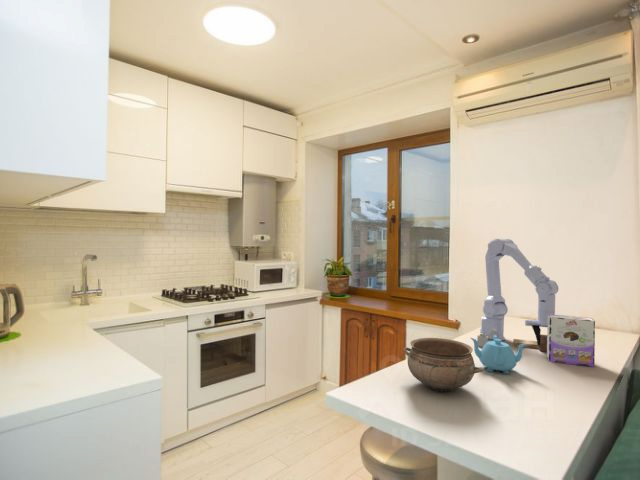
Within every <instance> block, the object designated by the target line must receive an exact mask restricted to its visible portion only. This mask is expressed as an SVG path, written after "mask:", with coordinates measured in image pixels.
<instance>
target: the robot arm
mask: <svg viewBox="0 0 640 480" xmlns="http://www.w3.org/2000/svg"><path fill="white" fill-rule="evenodd" d="M504 256H507V257H511V258H512V259H513V260H514V261H515V263H517V264H518V265H519V266H520V267H521V269H523V270H524V276H525V277H526V278H527V279H528V280H529V281H530V283H532V285H533V286H534V288H535V292H536V294H537V296H538V300H537V301H538V302H537V303H538V304H537V305H538V306H537V309H538V310H537V320H536V319H535V320H529V319H528V320H527V319H525V320H524V325H525V326H526V327H531V328H532V330H533V332H534V335H535V339H536V341H537V344H538V345H540V334H541V331H542V330H541V328H548V314H552V315H556V294H557V293H558V292H559V285H558V284H557V282H556V281H554V280H552V279H551V278H550V277H549V276H547V275H546V274H545V273H544V272H543V271H542V268H541V266H538V265H533V264H531V262H530V261H529V259H527V257H526V256H525V255H524V254H523V252H522V251H521V250H520V249H519V247H518V245H517V244H516V243H515V242H514V241H513V240H512V239H510V238H494V239H492V240H490V241H489V243H488V244H487V251H486V253H485V271H486V272H485V273H486V285H487V288H486V289H487V297H486V298H485V299H484V300H483V302H484V305H483V307H482V312H483V314H484V315H485V316H481V317H480V330H479V331H480V333H479V334H481V333H483V334H486V336H489V334H490V333H491V331H492V329H495V330H497V332H496V333H495V335H497V339H500V340H502V341H506V338H505V333H504V331H505V328H504V327H505V326H504V324H505V316H506V315H507V313H508V306H507V304H506V300H505V298H504V297H503V295H502V286H501V285H502V284H501V273H500V270H501V269H500V261H501V259H502V258H503V257H504ZM491 340H493V338H492V339H491Z"/></svg>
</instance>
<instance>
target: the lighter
mask: <svg viewBox="0 0 640 480" xmlns="http://www.w3.org/2000/svg"><path fill="white" fill-rule="evenodd" d="M496 332H497V330H495V329H492V331H491V333H490V334H489V336H486V334H483V333H479V334H478V335H477V338H476V340H477V342H478V347H480V348H483V347H484V345H485V344H486V343H487V342H489V341H490V340H493V339H492V338H493V335H494V334H495V333H496Z"/></svg>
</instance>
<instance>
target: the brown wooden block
mask: <svg viewBox="0 0 640 480" xmlns="http://www.w3.org/2000/svg"><path fill="white" fill-rule="evenodd" d="M538 350H539V352H543V353H547V334H541V333H540V345H539V349H538Z"/></svg>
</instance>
